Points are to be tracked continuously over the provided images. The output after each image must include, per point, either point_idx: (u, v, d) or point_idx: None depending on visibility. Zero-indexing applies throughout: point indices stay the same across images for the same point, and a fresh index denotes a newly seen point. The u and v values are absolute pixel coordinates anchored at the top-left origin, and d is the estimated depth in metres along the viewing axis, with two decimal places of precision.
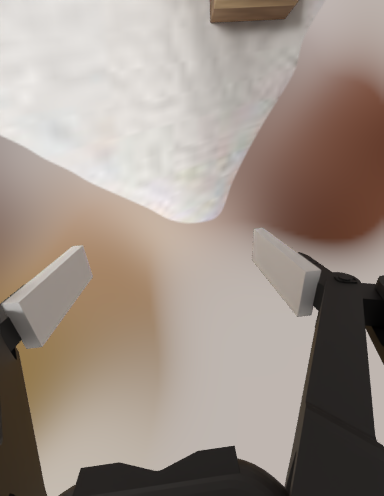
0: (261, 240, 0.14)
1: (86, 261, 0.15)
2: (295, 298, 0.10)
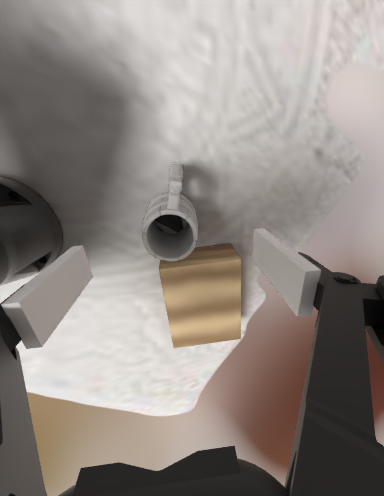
0: (261, 240, 0.14)
1: (86, 261, 0.15)
2: (295, 298, 0.10)
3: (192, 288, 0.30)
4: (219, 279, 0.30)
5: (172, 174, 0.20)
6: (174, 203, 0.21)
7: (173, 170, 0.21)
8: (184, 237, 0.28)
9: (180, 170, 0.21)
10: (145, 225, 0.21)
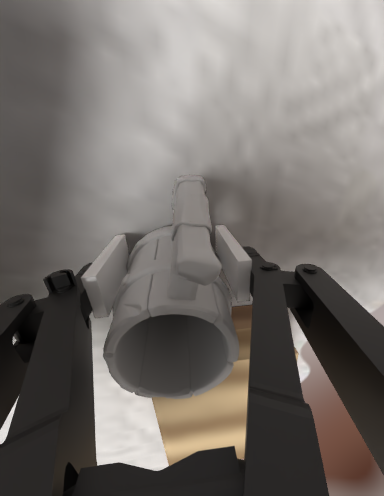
0: (219, 236, 0.15)
1: (127, 249, 0.16)
2: (235, 286, 0.12)
3: (206, 396, 0.17)
4: None
5: (183, 216, 0.07)
6: (186, 287, 0.08)
7: (185, 201, 0.08)
8: None
9: (203, 200, 0.08)
10: (110, 339, 0.08)
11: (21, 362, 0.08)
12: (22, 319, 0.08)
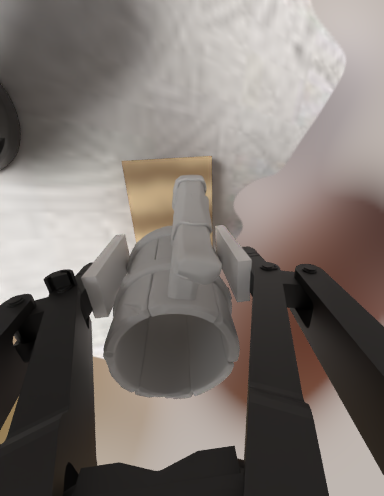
0: (218, 236, 0.15)
1: (127, 249, 0.16)
2: (235, 286, 0.12)
3: (159, 189, 0.28)
4: None
5: (184, 216, 0.07)
6: (186, 286, 0.08)
7: (185, 201, 0.08)
8: None
9: (203, 199, 0.08)
10: (110, 338, 0.08)
11: (21, 362, 0.08)
12: (22, 319, 0.08)
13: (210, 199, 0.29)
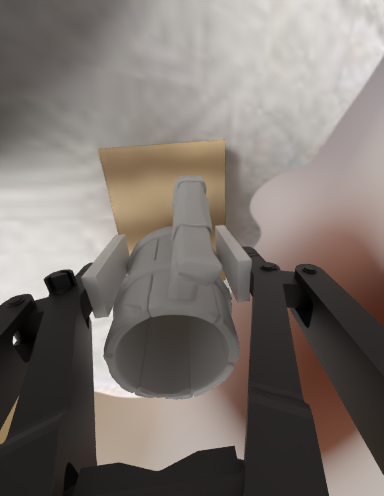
0: (218, 236, 0.15)
1: (127, 249, 0.16)
2: (235, 286, 0.12)
3: (153, 188, 0.20)
4: (193, 174, 0.20)
5: (184, 217, 0.07)
6: (186, 287, 0.08)
7: (186, 202, 0.08)
8: None
9: (203, 200, 0.08)
10: (110, 339, 0.08)
11: (21, 362, 0.08)
12: (22, 319, 0.08)
13: (222, 200, 0.21)
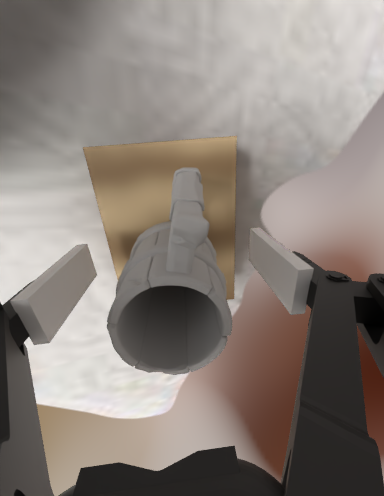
0: (257, 239, 0.14)
1: (90, 260, 0.15)
2: (289, 296, 0.10)
3: (150, 194, 0.17)
4: None
5: (179, 194, 0.08)
6: (182, 260, 0.09)
7: (182, 184, 0.09)
8: (196, 301, 0.16)
9: (197, 184, 0.09)
10: (113, 309, 0.09)
11: None
12: None
13: (232, 208, 0.18)
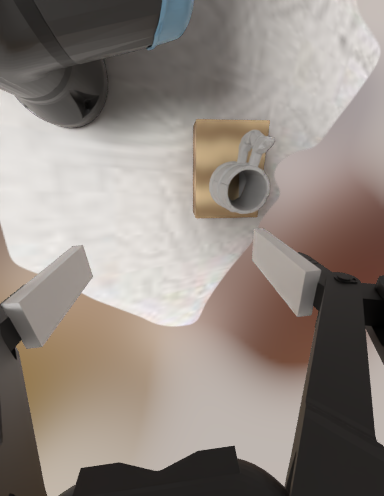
0: (261, 240, 0.14)
1: (86, 261, 0.15)
2: (295, 298, 0.10)
3: (223, 147, 0.33)
4: None
5: (260, 135, 0.24)
6: (256, 161, 0.25)
7: (259, 133, 0.25)
8: (244, 201, 0.32)
9: None
10: (229, 177, 0.25)
11: None
12: None
13: (263, 159, 0.34)
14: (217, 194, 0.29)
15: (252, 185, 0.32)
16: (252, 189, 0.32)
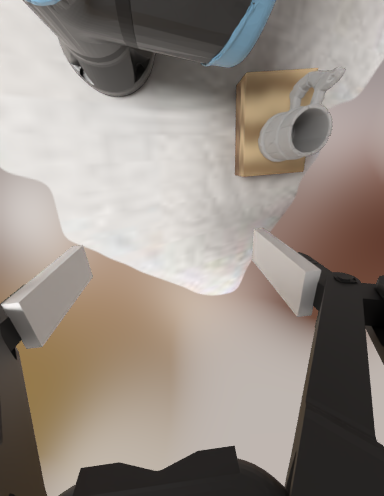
0: (261, 240, 0.14)
1: (86, 261, 0.15)
2: (295, 298, 0.10)
3: (271, 99, 0.34)
4: None
5: (325, 71, 0.25)
6: (320, 99, 0.26)
7: None
8: (297, 150, 0.33)
9: None
10: (294, 118, 0.26)
11: None
12: None
13: None
14: (275, 141, 0.30)
15: (305, 133, 0.32)
16: (305, 137, 0.32)
